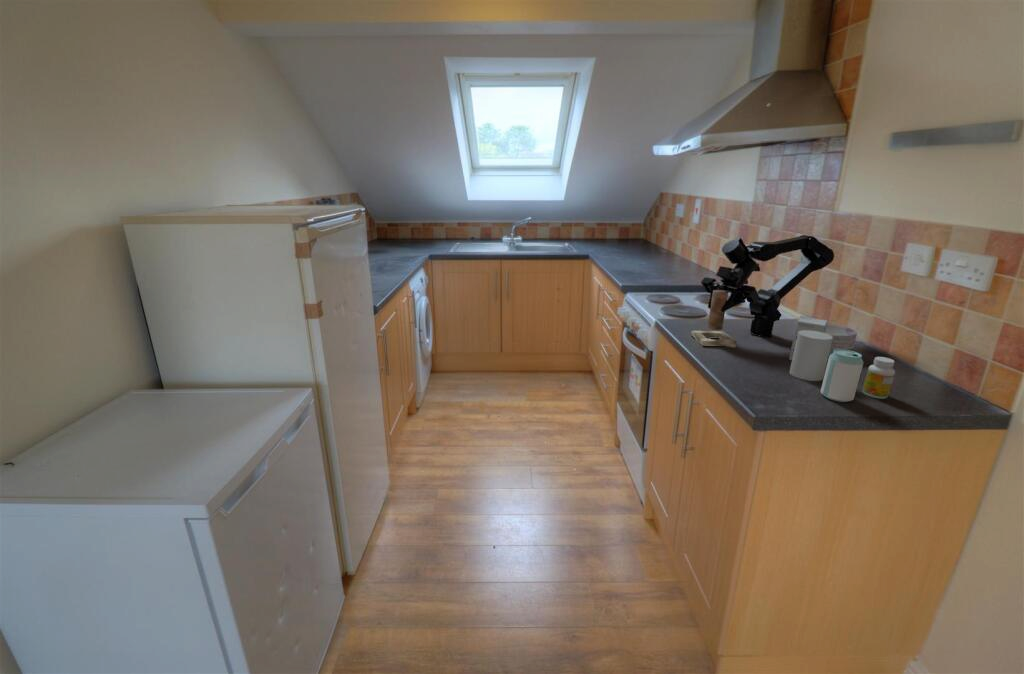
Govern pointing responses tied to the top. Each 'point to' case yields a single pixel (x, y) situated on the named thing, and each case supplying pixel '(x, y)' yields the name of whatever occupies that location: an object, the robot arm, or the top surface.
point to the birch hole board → (723, 341)
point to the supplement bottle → (879, 378)
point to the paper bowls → (840, 337)
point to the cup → (810, 355)
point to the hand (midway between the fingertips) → (715, 309)
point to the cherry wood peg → (717, 309)
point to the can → (842, 375)
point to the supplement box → (807, 324)
